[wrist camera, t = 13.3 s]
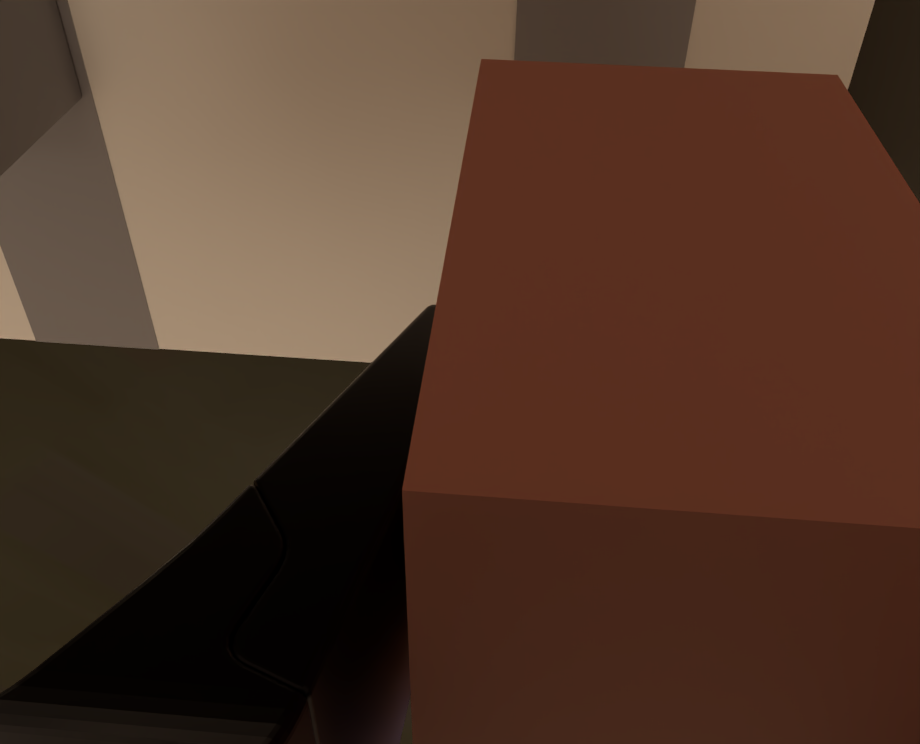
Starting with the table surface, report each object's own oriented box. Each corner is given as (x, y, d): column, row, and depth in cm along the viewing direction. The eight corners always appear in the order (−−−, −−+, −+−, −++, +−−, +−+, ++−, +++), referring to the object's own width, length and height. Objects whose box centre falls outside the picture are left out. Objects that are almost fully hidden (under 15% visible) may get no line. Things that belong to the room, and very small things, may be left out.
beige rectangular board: (-35, 302, 25) (-75, 347, 24) (-271, -255, 17) (-360, -244, 15) (747, 352, 24) (761, 403, 22) (912, -226, 15) (952, -209, 14)
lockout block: (471, 415, 12) (418, 879, 8) (481, 58, 9) (401, 491, 4) (732, 433, 12) (838, 920, 7) (836, 75, 9) (1137, 542, 4)
